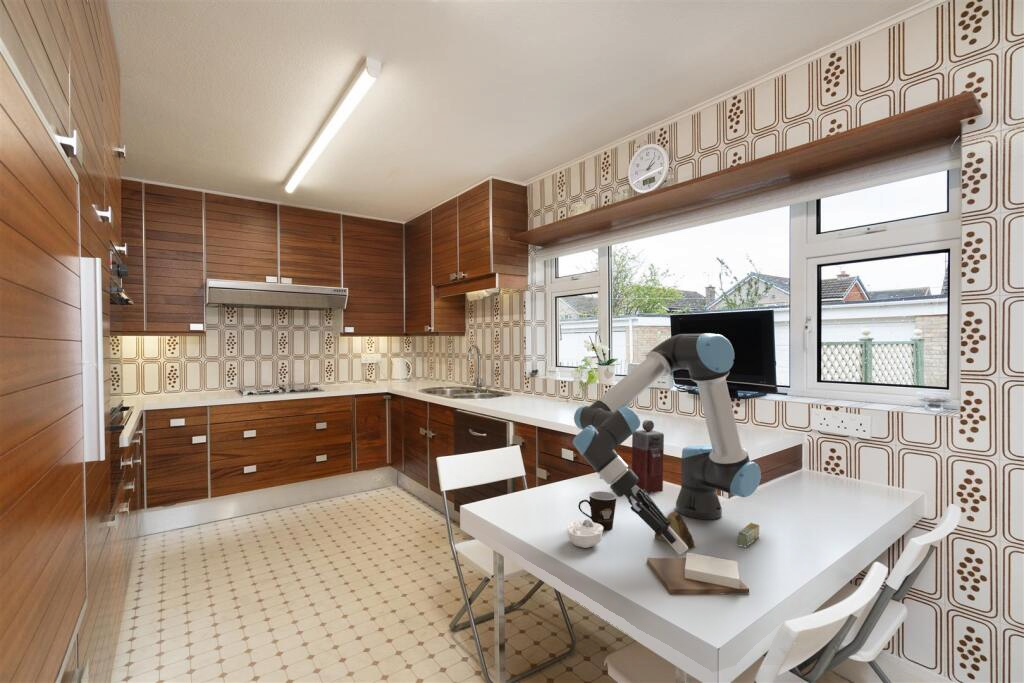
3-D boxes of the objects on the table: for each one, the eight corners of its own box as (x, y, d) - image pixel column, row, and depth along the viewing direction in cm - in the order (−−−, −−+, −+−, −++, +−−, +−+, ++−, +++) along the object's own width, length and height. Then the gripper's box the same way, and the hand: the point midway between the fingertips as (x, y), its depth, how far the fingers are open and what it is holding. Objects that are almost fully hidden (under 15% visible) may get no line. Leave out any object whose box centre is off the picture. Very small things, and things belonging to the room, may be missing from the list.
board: (716, 562, 127) (716, 557, 127) (749, 593, 111) (749, 588, 111) (647, 562, 126) (647, 557, 126) (670, 594, 110) (670, 589, 110)
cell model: (558, 546, 135) (558, 522, 135) (581, 534, 144) (582, 512, 144) (588, 557, 128) (589, 532, 128) (610, 544, 137) (611, 520, 137)
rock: (644, 529, 143) (663, 538, 133) (658, 504, 145) (677, 511, 135) (670, 549, 144) (691, 559, 134) (683, 524, 146) (704, 532, 137)
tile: (684, 568, 115) (739, 579, 110) (686, 552, 124) (737, 561, 119) (684, 578, 115) (739, 589, 110) (686, 561, 124) (736, 571, 119)
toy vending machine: (649, 495, 183) (651, 423, 183) (630, 487, 193) (632, 419, 193) (667, 492, 187) (668, 422, 187) (647, 484, 197) (649, 418, 197)
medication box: (746, 549, 136) (747, 535, 136) (736, 545, 138) (737, 532, 138) (759, 537, 145) (759, 524, 145) (749, 534, 147) (750, 521, 147)
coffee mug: (616, 523, 153) (617, 492, 153) (615, 533, 144) (615, 501, 145) (580, 519, 156) (581, 489, 156) (577, 528, 148) (578, 497, 148)
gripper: (613, 479, 133) (674, 549, 126) (603, 492, 121) (670, 570, 114) (633, 462, 131) (696, 533, 124) (625, 474, 119) (694, 553, 112)
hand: (683, 551), depth 119 cm, fingers closed
